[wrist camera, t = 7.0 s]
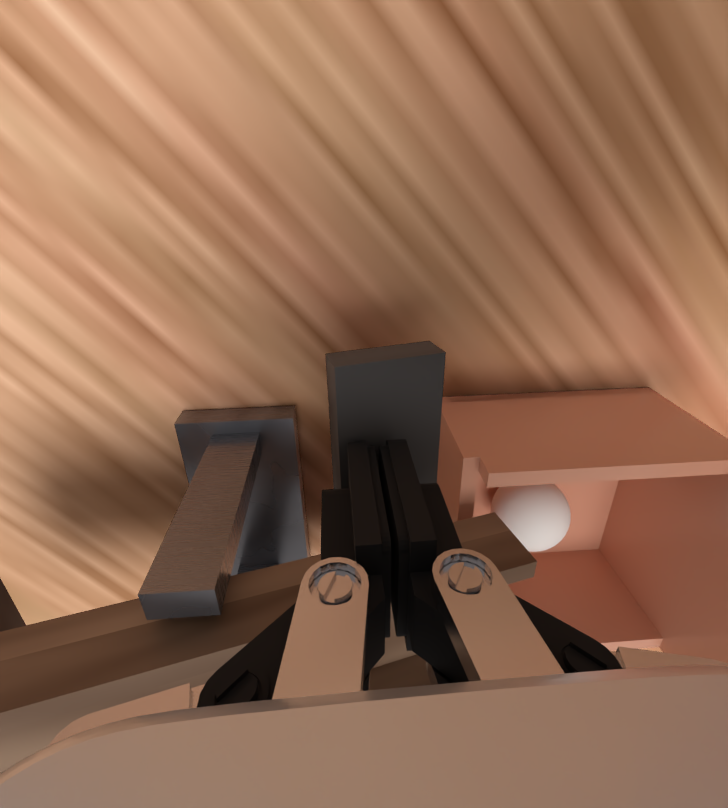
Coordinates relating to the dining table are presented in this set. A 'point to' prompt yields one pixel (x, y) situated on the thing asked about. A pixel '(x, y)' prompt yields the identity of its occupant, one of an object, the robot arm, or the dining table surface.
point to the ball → (533, 514)
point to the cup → (607, 508)
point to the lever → (235, 578)
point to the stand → (229, 508)
